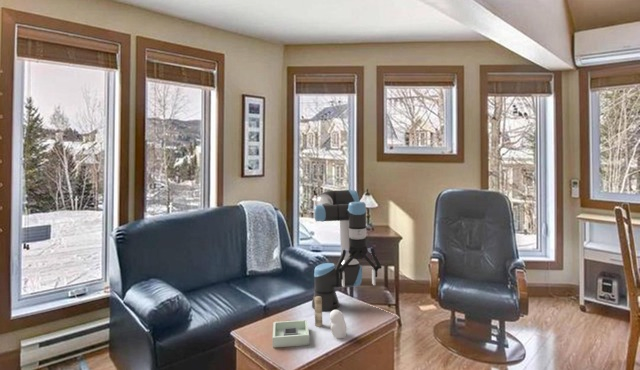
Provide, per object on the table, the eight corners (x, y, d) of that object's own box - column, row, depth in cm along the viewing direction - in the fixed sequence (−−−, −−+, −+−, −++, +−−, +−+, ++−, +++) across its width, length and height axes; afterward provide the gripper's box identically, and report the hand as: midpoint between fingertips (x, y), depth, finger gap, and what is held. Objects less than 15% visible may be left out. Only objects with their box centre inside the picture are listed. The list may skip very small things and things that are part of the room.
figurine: (330, 331, 173) (329, 307, 172) (346, 331, 173) (345, 306, 172) (330, 339, 166) (329, 313, 165) (346, 338, 166) (346, 313, 165)
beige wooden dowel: (314, 323, 182) (314, 296, 181) (322, 323, 182) (321, 296, 182) (315, 327, 179) (314, 299, 178) (322, 326, 179) (322, 298, 178)
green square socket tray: (273, 331, 175) (273, 321, 175) (307, 328, 177) (306, 319, 177) (272, 347, 160) (272, 337, 159) (309, 344, 161) (309, 335, 161)
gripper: (330, 240, 153) (331, 290, 155) (388, 237, 156) (388, 286, 158) (328, 237, 161) (329, 284, 162) (383, 234, 164) (383, 280, 165)
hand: (358, 285), depth 160 cm, fingers open, 13 cm apart
